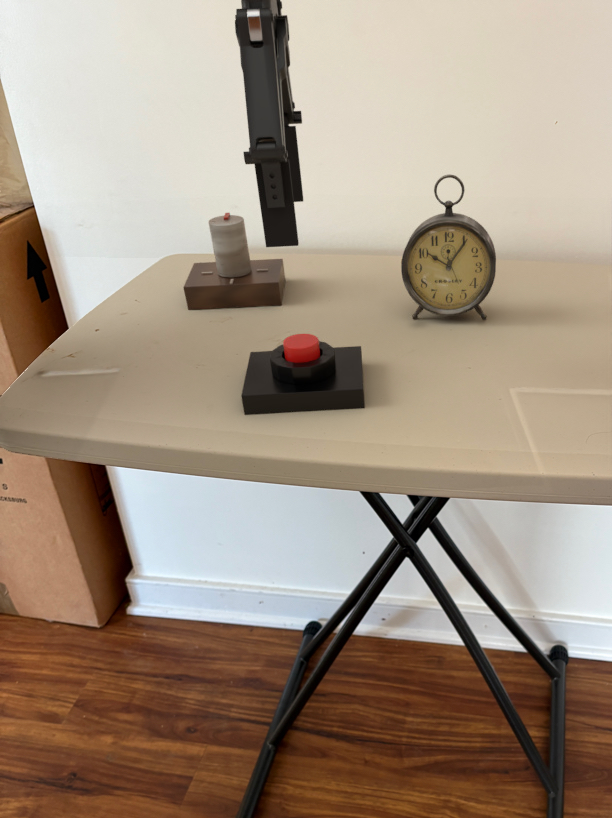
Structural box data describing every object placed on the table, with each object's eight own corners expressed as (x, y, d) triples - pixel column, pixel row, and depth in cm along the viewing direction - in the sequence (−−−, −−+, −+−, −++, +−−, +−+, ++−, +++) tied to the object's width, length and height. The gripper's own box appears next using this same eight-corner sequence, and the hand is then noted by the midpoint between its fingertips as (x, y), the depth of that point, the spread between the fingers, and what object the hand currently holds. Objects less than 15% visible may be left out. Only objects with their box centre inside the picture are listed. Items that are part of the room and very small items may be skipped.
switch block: (244, 415, 76) (238, 379, 73) (253, 370, 83) (247, 336, 81) (364, 408, 76) (362, 372, 73) (362, 364, 84) (360, 330, 81)
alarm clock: (402, 324, 92) (397, 180, 82) (407, 307, 96) (404, 168, 86) (492, 326, 91) (499, 180, 81) (494, 308, 95) (500, 168, 85)
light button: (284, 365, 76) (281, 349, 75) (286, 350, 79) (283, 334, 78) (320, 363, 76) (318, 347, 75) (320, 348, 79) (319, 332, 78)
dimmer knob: (250, 276, 98) (241, 221, 93) (215, 278, 97) (205, 223, 93) (253, 265, 101) (244, 211, 97) (219, 266, 101) (210, 213, 97)
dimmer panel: (188, 310, 97) (182, 285, 95) (198, 284, 104) (193, 261, 102) (281, 305, 98) (278, 280, 96) (285, 280, 105) (282, 257, 103)
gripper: (218, -75, 66) (255, 188, 79) (170, -78, 46) (230, 270, 60) (305, -78, 66) (327, 184, 79) (294, -83, 47) (326, 265, 60)
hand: (286, 222), depth 69 cm, fingers open, 13 cm apart
